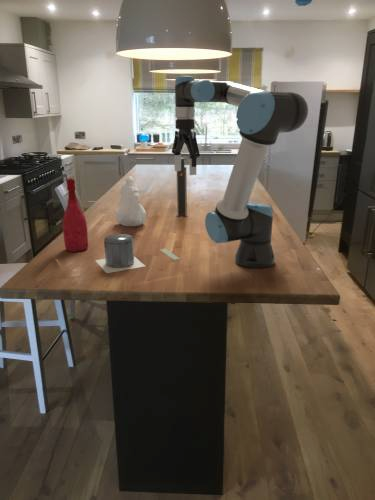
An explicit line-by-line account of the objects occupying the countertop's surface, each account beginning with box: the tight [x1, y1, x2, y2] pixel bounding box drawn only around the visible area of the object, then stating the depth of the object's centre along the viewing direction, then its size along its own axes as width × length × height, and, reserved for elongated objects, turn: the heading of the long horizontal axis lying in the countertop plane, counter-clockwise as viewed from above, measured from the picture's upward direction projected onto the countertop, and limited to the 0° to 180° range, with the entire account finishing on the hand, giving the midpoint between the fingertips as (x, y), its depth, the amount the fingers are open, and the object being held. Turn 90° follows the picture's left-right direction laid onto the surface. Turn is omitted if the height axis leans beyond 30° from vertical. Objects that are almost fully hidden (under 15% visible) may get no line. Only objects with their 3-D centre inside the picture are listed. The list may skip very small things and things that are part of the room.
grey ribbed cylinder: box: [103, 233, 135, 268], centre depth 152 cm, size 10×10×10 cm
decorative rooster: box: [115, 175, 147, 227], centre depth 204 cm, size 25×16×25 cm, turn 7°
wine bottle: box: [62, 178, 89, 253], centre depth 169 cm, size 10×10×30 cm
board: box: [94, 256, 146, 274], centre depth 154 cm, size 15×15×1 cm
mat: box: [160, 248, 181, 261], centre depth 163 cm, size 14×14×1 cm
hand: (185, 172), depth 167 cm, fingers open, 13 cm apart
